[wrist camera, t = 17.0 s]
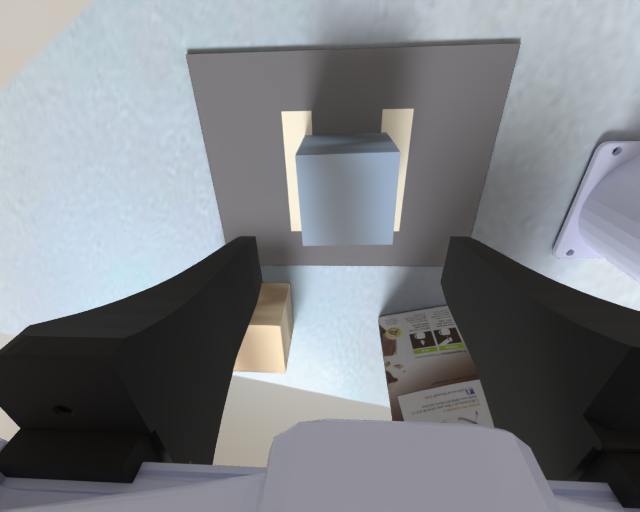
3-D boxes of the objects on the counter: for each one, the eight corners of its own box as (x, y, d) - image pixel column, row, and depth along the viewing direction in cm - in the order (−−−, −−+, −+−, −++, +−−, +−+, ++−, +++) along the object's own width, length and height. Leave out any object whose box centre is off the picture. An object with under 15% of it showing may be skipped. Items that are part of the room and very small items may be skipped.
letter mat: (518, 43, 16) (520, 43, 16) (461, 265, 24) (462, 266, 23) (187, 54, 17) (185, 54, 17) (231, 263, 25) (230, 264, 25)
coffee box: (374, 316, 27) (411, 577, 13) (451, 302, 26) (580, 574, 12) (391, 381, 31) (432, 627, 18) (457, 372, 30) (557, 629, 16)
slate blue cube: (386, 132, 19) (400, 151, 15) (381, 209, 21) (392, 244, 17) (304, 135, 19) (295, 155, 15) (309, 210, 22) (302, 245, 17)
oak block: (289, 282, 26) (280, 325, 21) (293, 326, 28) (285, 373, 24) (230, 281, 26) (209, 323, 22) (239, 325, 28) (222, 370, 24)
